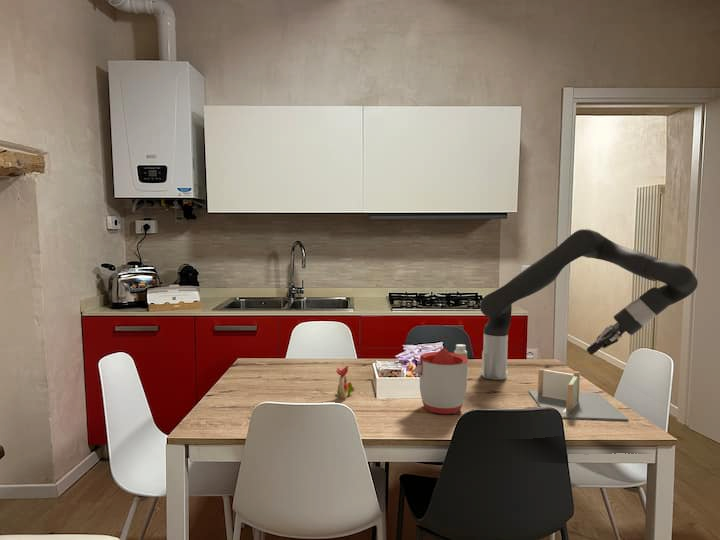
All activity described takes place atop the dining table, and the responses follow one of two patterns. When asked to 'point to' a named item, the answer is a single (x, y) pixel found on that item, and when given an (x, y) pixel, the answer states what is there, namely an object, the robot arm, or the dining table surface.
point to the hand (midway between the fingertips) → (588, 352)
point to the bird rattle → (344, 384)
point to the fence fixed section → (555, 383)
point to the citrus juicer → (442, 381)
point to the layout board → (582, 407)
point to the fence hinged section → (571, 394)
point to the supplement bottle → (461, 349)
